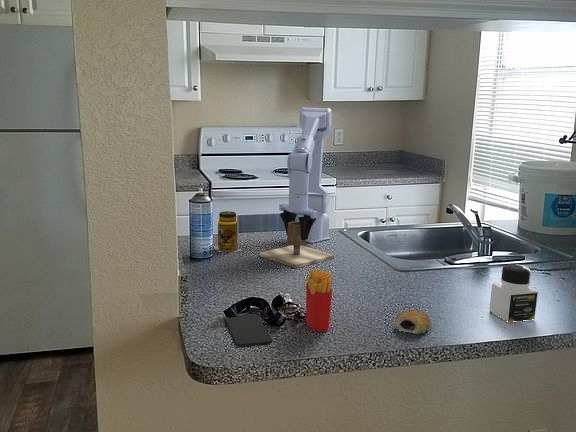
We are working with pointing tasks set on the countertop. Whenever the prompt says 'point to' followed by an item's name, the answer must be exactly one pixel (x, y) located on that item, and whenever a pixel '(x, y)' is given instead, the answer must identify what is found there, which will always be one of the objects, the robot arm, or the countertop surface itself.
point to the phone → (248, 330)
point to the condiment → (227, 232)
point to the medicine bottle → (514, 294)
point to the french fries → (318, 300)
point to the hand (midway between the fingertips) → (297, 237)
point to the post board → (296, 255)
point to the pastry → (412, 322)
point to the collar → (294, 234)
